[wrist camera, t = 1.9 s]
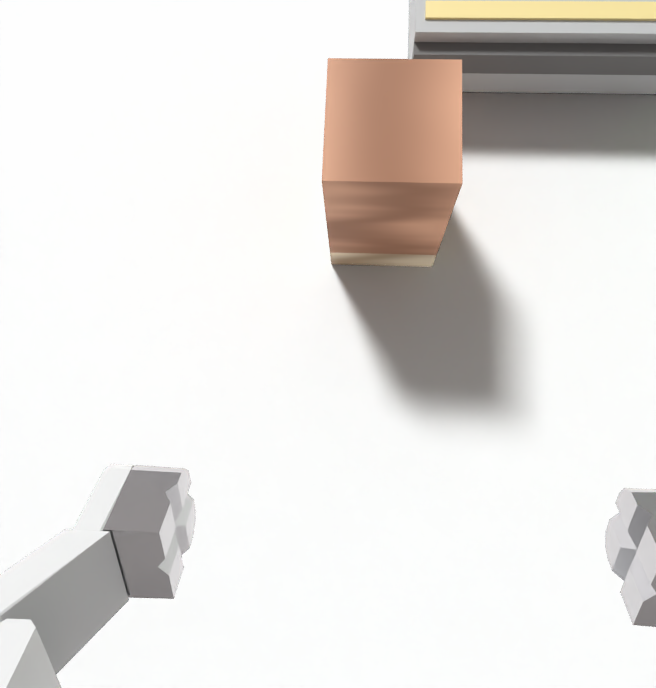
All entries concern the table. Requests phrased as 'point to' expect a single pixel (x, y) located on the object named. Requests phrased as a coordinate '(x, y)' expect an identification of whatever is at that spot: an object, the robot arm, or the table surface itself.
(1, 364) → the table surface
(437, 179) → the copper brown block
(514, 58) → the dock
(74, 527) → the robot arm
